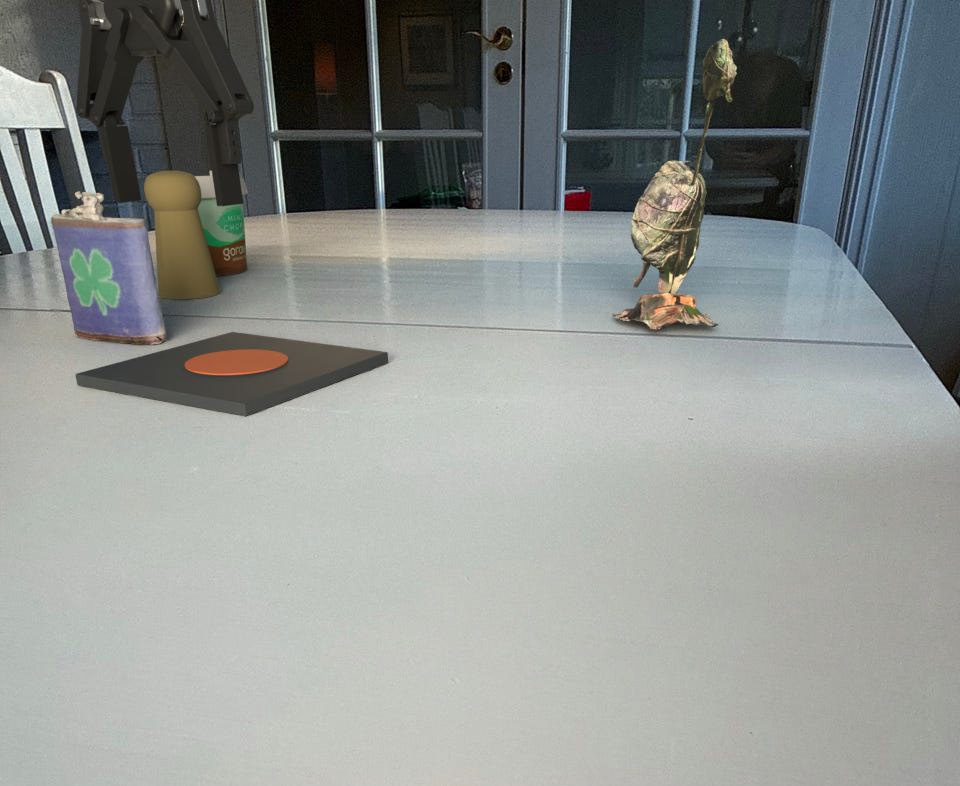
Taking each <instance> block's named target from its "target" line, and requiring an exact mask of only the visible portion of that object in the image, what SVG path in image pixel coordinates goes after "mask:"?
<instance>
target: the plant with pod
mask: <svg viewBox="0 0 960 786" xmlns="http://www.w3.org/2000/svg"><path fill="white" fill-rule="evenodd" d="M733 56H734V55H733V51H732V50H731V48H730V46H729V43H728V40H726V39H725V38H722V39H719V40H718V41H716V42H715V43H713V44H712V45H711V46H710V47H709V48H708V50H707V52H706V54H705V56H704V59H703V60H702V65H701V66H702V67H703V68H702V92H703V96H704V98H705V100H706V101H708V103H707V104H706V109H705V114H704V115H705V116H704V117H705V120H704V127H703V132H702V136H701V139H700V143H699V146H698V150H697V155H696V161H695V165H694V170H693V169H692V168H691V167H690V166H689V165H686V163H690V162H691V160H684V161H682V160H668V161H667V162H665V163H664V164H663V165H662V166H661V167H660V169H658V172H656V173H655V174H654V176H653V177H652V178H651V179H650V181H649V183H648V185H647V186H646V188H645V189H644V191H643V193H642V195H641V196H640V197H639V198H638V200H637V203H636V206H635V207H634V211H633V215H632V217H631V220H630V239H631V242H632V244H633V247H634V250H636V251H637V253H638V254H640V255H641V257H640V259H641V260H642V270H641V272H640V274H638V275H637V277H636V278H635V279H634V280H633V284H632V287H633V288H638V287H639V286H640V284H641V283H642V281H643V280H644V278H645V277H646V275H647V273H648V271H649V269H650V267H654V268H655V269H657V270H658V273H659V274H658V283H657V284H658V286H657V291H658V293H647V294H643V295H641V296H640V297H639V299H638V301H637V303H636V305H635V306H634V307H633V308H626V309H623V311H622V312H621V313H617V314H615V313H612V316H611V317H615V319H616V320H620V321H621V320H622V321H623V322H625V321H627V322H630V321H636V322H642V323H644V324H646V325H647V326H648V327H649V329H650V330H660V329H663V327H668V326H670V325H673V324H675V323H678V322H679V323H681V324H684V323H685V324H686V325H690V324H691V325H693V326H697V325H698V326H701V325H703V326H706V327H708V328H715V327H716V328H717V326H719V325H720V323H716V322H715V323H713V322H714V320H712V318H711V316H709V315H707V313H705V314H704V313H703V312H701V311H699V309H698V307H697V299H696V297H695V296H693V295H691V294H681V293H678V291H679V288H680V287H681V285H682V283H683V282H684V280H685V278H686V277H687V275H688V273H689V271H690V270H691V268H692V266H693V265H694V263H695V260H696V253H697V250H698V249H699V248H700V235H701V234H700V233H701V226H702V223H703V219H704V213H705V207H706V202H705V201H706V196H707V194H708V192H707V182H706V181H705V180H704V177H703V175H702V174H701V173H699V171H700V170H699V169H700V163H701V159H702V155H703V148H704V146H705V140H706V139H705V138H706V137H707V133H708V130H709V126H710V122H711V118H712V115H713V112H714V107H715V101H716V100H718V99H719V98H721V97H723V96H724V97H725V99H726V101H727V102H728V103H731V102H732V101H733V97H732V94H731V87H732V86H733V84H734V81H735V78H736V76H737V69H738V67H737V65H736V64H735V62H734V60H733Z"/></svg>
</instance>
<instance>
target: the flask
mask: <svg viewBox="0 0 960 786" xmlns="http://www.w3.org/2000/svg"><path fill="white" fill-rule="evenodd" d="M74 196H75V197H76V198H77V200H80V199H81V201H82V202H83V204H80V205H76V207H74V208H71V209H69V208H68V209H62V210H61V212H60V213H53V214H52V216H51V218H50V223H51V227H52V231H53V235H54V239H55V243H56V247H57V252H58V257H59V262H60V267H61V271H62V275H63V281H64V286H65V292H66V297H67V302H68V305H69V310H70V313H71V319H72V323H73V330H74V335H75V337H77V338H82V339H87V340H92V341H102V342H103V341H108V342H111V343H120V344H131V345H142V344H145V345H150V346H153V345H159V344H161V343H162V342H164V341H165V342H167V340H168V339H167V338H168V335H167V330H166V324H165V320H164V316H163V311H162V304H161V301H160V296H159V294H158V283H157V277H156V275H155V269H154V263H153V256H152V252H151V245H150V239H149V231H148V225H147V221H146V219H145V218H130V217H127V218H126V217H125V218H124V217H109V216H103V212H104V206H103V204H101V203H102V202H103V201H104V200H105V195H104V194H103V193H100V192H96V193H93V192H91V191H90V192H89V191H83V192H81V191H80V190H78V191H75V193H74ZM160 339H161V340H160Z"/></svg>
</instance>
